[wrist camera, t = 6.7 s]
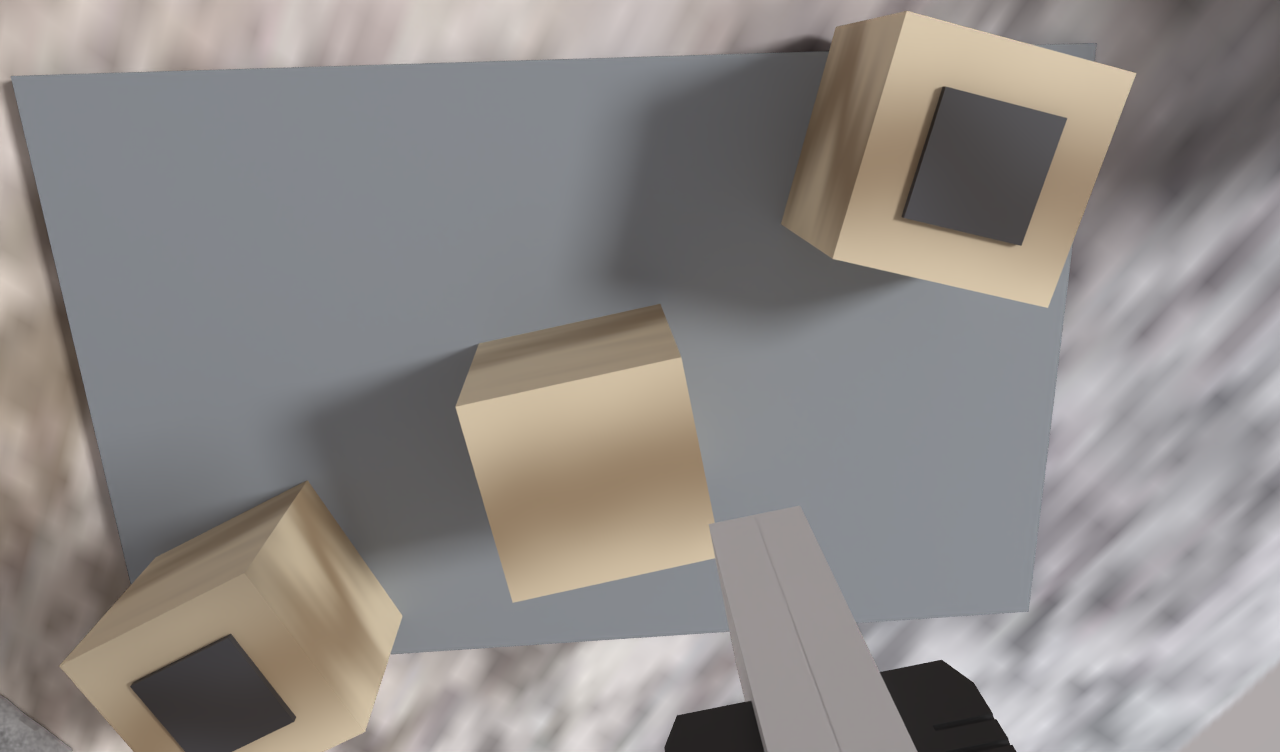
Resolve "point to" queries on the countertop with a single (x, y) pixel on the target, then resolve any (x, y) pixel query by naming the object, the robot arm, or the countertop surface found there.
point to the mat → (521, 323)
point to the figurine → (25, 732)
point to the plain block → (587, 453)
